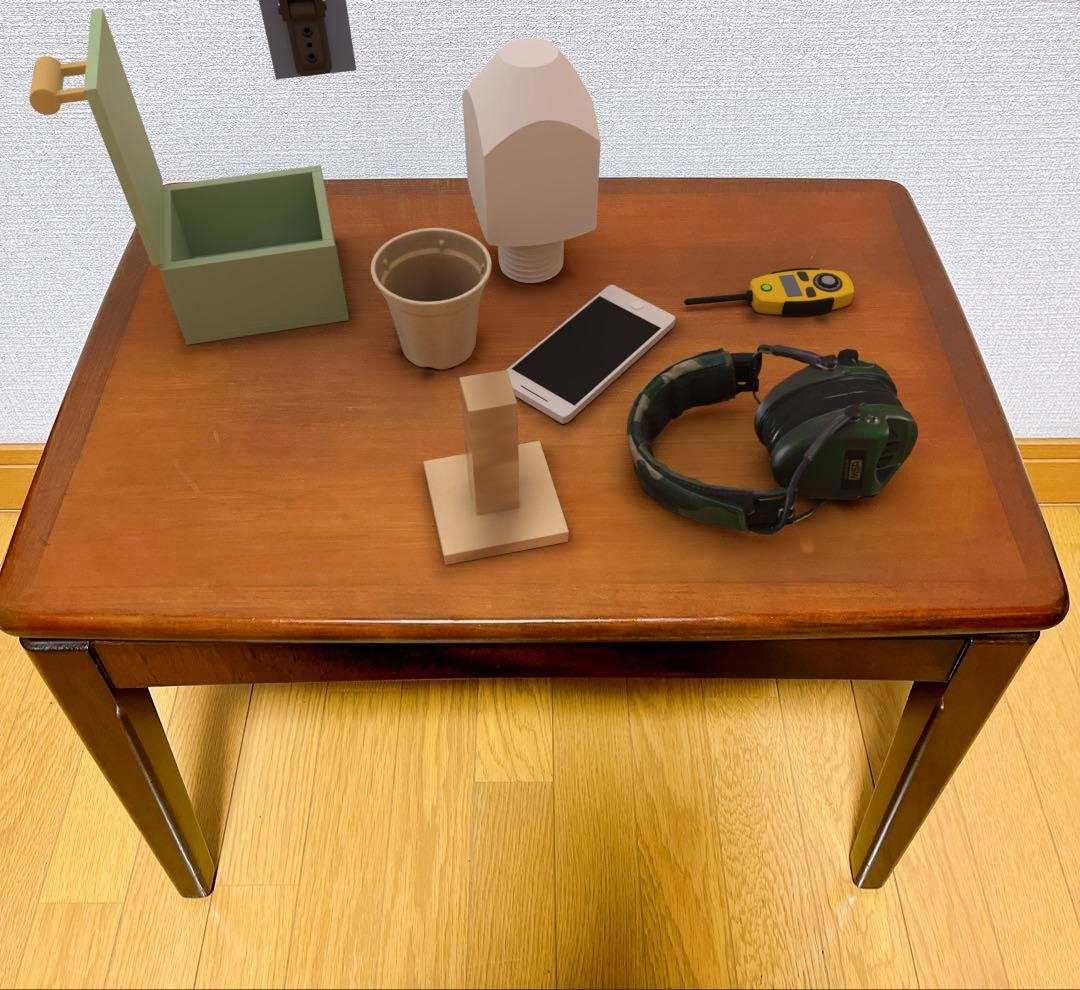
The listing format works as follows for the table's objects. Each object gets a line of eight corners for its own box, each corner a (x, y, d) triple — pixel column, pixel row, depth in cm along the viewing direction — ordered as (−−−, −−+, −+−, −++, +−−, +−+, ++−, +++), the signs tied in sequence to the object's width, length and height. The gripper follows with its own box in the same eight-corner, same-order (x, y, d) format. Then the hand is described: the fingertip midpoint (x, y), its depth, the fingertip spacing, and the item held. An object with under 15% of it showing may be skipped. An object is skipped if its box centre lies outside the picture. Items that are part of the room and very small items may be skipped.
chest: (335, 239, 95) (320, 164, 89) (349, 320, 88) (334, 245, 82) (184, 260, 93) (159, 185, 87) (186, 345, 86) (159, 270, 80)
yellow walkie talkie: (862, 295, 87) (691, 309, 86) (856, 312, 88) (689, 327, 87) (844, 260, 90) (679, 274, 89) (839, 278, 92) (676, 291, 90)
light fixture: (593, 288, 91) (603, 75, 75) (491, 304, 89) (480, 90, 74) (567, 226, 96) (572, 17, 81) (471, 240, 95) (457, 30, 79)
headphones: (853, 315, 80) (605, 374, 80) (919, 303, 66) (622, 374, 66) (885, 480, 81) (642, 537, 81) (956, 500, 68) (665, 569, 68)
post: (445, 565, 71) (430, 452, 62) (424, 471, 77) (408, 354, 68) (568, 541, 73) (572, 427, 63) (539, 450, 78) (539, 333, 69)
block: (275, 79, 63) (258, -2, 59) (271, 40, 66) (254, -39, 62) (356, 70, 63) (344, -11, 60) (348, 32, 66) (336, -47, 63)
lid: (102, 8, 75) (26, 17, 75) (96, 88, 68) (11, 99, 67) (163, 180, 87) (97, 189, 86) (163, 264, 79) (91, 275, 79)
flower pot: (516, 333, 87) (514, 251, 80) (454, 401, 82) (446, 318, 75) (426, 296, 90) (417, 214, 83) (361, 359, 85) (346, 276, 78)
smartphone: (676, 324, 87) (677, 316, 87) (564, 425, 80) (564, 417, 79) (610, 290, 90) (610, 282, 89) (496, 385, 83) (495, 377, 82)
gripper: (176, -310, 55) (247, 4, 68) (174, -226, 46) (256, 117, 59) (315, -319, 56) (359, -7, 69) (338, -238, 47) (383, 102, 60)
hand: (311, 49), depth 64 cm, fingers closed on block, 5 cm apart
